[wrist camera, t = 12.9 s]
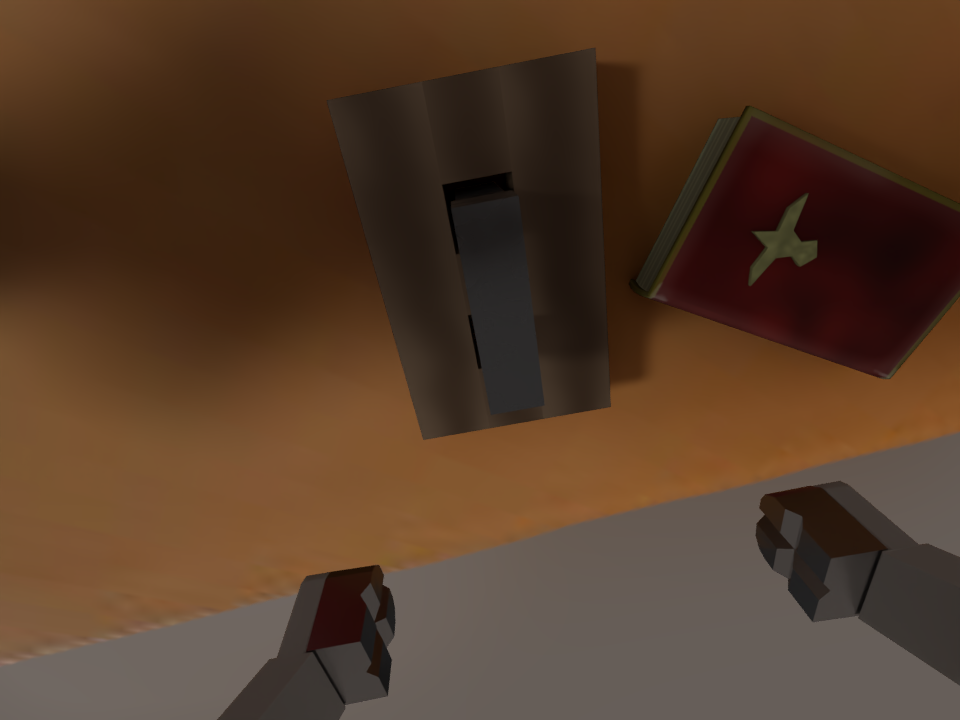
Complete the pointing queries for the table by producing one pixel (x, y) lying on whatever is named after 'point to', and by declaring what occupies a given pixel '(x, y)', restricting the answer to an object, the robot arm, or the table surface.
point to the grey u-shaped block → (499, 294)
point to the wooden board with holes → (435, 254)
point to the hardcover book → (807, 247)
